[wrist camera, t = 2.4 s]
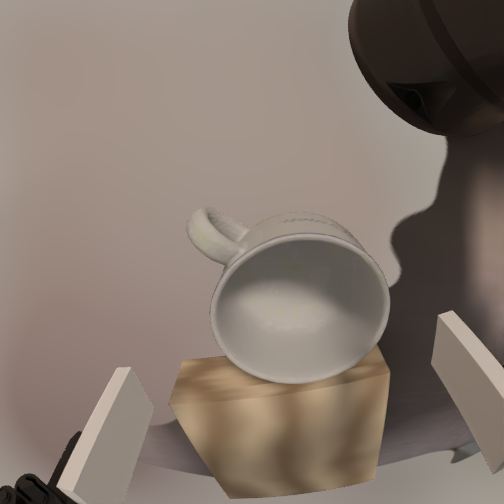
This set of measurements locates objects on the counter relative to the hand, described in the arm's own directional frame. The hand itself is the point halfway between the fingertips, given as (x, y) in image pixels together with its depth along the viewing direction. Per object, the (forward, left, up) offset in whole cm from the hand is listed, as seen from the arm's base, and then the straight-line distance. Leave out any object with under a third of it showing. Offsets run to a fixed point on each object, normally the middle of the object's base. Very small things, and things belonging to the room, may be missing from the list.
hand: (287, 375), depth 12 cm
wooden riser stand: (+2, +19, -14) cm, 23 cm away
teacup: (0, 0, -14) cm, 14 cm away
